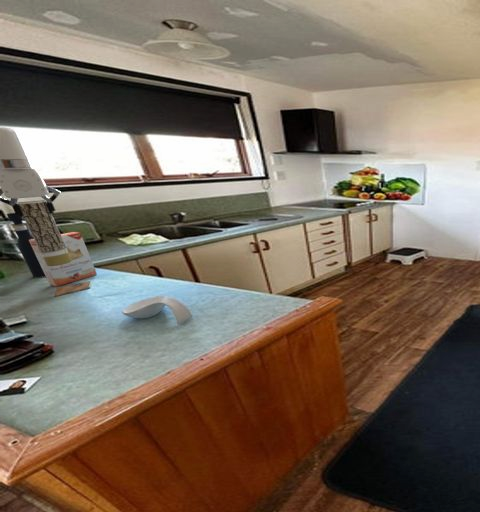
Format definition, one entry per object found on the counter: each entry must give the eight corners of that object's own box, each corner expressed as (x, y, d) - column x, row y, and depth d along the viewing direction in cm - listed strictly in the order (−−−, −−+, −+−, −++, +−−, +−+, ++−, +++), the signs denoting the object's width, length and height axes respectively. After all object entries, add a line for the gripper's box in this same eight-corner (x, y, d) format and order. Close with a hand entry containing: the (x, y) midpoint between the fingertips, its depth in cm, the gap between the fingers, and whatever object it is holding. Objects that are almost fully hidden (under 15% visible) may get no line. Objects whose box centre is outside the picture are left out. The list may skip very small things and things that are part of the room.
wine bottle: (34, 278, 126) (2, 215, 116) (32, 275, 130) (0, 213, 120) (55, 273, 131) (25, 212, 121) (52, 271, 135) (23, 211, 125)
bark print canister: (52, 267, 105) (21, 203, 97) (43, 265, 107) (13, 202, 99) (76, 261, 111) (49, 200, 103) (67, 260, 113) (40, 200, 105)
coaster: (54, 296, 107) (53, 295, 107) (56, 289, 114) (56, 288, 114) (90, 288, 114) (89, 287, 114) (90, 281, 121) (90, 280, 121)
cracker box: (57, 287, 116) (35, 240, 109) (49, 285, 118) (27, 239, 111) (98, 274, 129) (80, 232, 122) (90, 273, 131) (72, 231, 124)
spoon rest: (116, 320, 89) (108, 301, 87) (154, 303, 99) (148, 285, 97) (169, 331, 82) (161, 310, 80) (203, 311, 93) (198, 292, 90)
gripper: (-30, 166, 88) (-3, 219, 94) (50, 164, 100) (70, 212, 106) (-24, 166, 93) (2, 217, 99) (52, 164, 105) (71, 210, 111)
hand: (37, 214), depth 103 cm, fingers closed on bark print canister, 6 cm apart
